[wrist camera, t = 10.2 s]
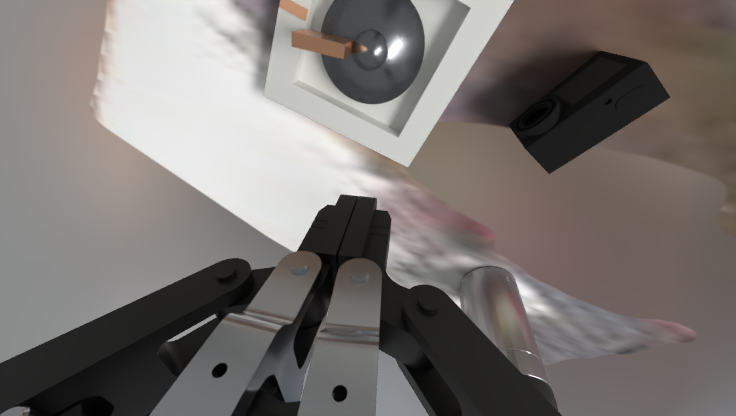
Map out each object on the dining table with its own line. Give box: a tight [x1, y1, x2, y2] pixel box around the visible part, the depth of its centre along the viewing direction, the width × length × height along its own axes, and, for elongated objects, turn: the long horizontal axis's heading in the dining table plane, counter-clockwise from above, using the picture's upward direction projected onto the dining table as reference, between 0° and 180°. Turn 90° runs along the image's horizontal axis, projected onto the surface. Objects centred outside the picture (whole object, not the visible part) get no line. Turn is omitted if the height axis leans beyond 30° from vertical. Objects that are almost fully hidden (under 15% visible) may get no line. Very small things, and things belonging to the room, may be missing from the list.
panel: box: [263, 0, 514, 167], centre depth 29 cm, size 20×20×3 cm
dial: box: [291, 0, 425, 104], centre depth 27 cm, size 12×11×6 cm
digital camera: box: [509, 51, 670, 174], centre depth 27 cm, size 10×5×7 cm, turn 141°
